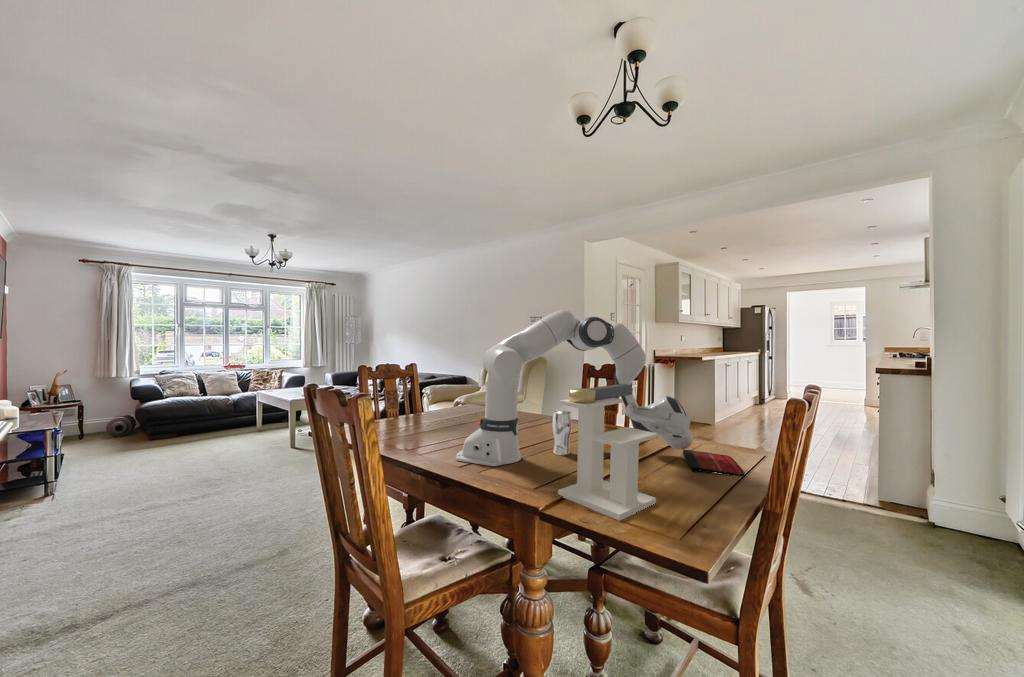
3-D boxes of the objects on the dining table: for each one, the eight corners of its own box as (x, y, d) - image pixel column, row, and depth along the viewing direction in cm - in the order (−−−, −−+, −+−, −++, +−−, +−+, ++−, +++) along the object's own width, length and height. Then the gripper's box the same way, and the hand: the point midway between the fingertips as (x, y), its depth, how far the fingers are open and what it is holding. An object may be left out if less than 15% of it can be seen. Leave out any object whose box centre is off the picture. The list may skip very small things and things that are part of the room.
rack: (619, 520, 103) (621, 412, 103) (558, 495, 118) (559, 400, 118) (656, 503, 114) (658, 404, 113) (595, 482, 129) (596, 395, 128)
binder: (691, 466, 139) (682, 448, 160) (691, 473, 139) (682, 455, 160) (746, 473, 135) (730, 454, 156) (746, 480, 135) (729, 460, 156)
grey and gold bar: (583, 404, 112) (583, 393, 112) (563, 400, 117) (563, 389, 117) (637, 395, 128) (638, 385, 128) (617, 392, 133) (618, 382, 133)
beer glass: (575, 453, 158) (575, 412, 158) (563, 457, 154) (563, 414, 153) (560, 449, 163) (560, 409, 163) (548, 452, 159) (548, 411, 158)
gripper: (639, 410, 153) (619, 394, 145) (695, 420, 138) (676, 402, 130) (633, 427, 152) (613, 411, 144) (690, 439, 136) (671, 422, 128)
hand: (644, 407), depth 137 cm, fingers open, 8 cm apart
